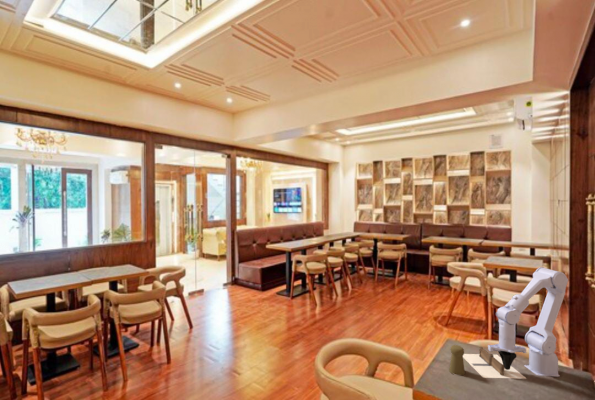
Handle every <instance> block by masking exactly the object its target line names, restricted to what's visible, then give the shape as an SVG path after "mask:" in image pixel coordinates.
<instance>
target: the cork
mask: <svg viewBox="0 0 595 400" xmlns="http://www.w3.org/2000/svg"><path fill="white" fill-rule="evenodd" d="M450 353H451V357H450V364H449V369H448V372H449V373H450V374H452V375H457V376H464V375H465V373H466V370H465V362H464V358H463V355H464V354H465V349H464V348H463V347H462V346H461V345H458V344H457V345H456V344H453V345H451V346H450Z"/></svg>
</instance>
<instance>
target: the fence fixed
mask: <svg viewBox="0 0 595 400" xmlns="http://www.w3.org/2000/svg"><path fill="white" fill-rule="evenodd" d="M478 352H479V353H478V354H479V356H480V357H482V358H483V359H484V360H485V361H486V362H487V363H488V364H489V365H490V366H492V357H493V355H494V354H492V353H489V352H488V351H486V350H485V348H483V347H482V346H480V347H479V351H478Z"/></svg>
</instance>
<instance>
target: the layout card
mask: <svg viewBox="0 0 595 400" xmlns="http://www.w3.org/2000/svg"><path fill="white" fill-rule="evenodd" d="M493 357H494V358H495V359H496V360H498V361H499V362H500V363H501V364H503V362H502V359H501V356H500V355H498V354H493ZM463 360H465V361H466V362H467V363H468V364H469V365H470V366H471V368H473V369H474V370H475V371H476V372H477V373H478V374H479V375H480V376H481V377H482V378H484V379H519V380H521V379H522V380H523V379H525V380H526V379H527V378H526V376H524V375H523V374H522V373H520V371H518V370H517V369H516V368H515V367H513V366H512V365H511V367H510V370H506V369H505V368H504V375H500V373H499V372H498V371H496V370H495V369H494V368H493V367H492V366H490V365H489V364H488V363H487V362H486V361H485V360H484V359H483V358H482V357H480V356H479V353H477V354H476V353H464V355H463Z"/></svg>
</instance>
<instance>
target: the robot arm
mask: <svg viewBox="0 0 595 400" xmlns="http://www.w3.org/2000/svg"><path fill="white" fill-rule="evenodd" d="M568 282H569V279H568V277H567V275H566V274H565V273H564V272H562V271H559V270H558V271H557V270H553V269H550V268H547V267H544V266H540V267H538V268H537V269H536V270H535V271H534V272H533V273H532V279H531V280H530V281H529V282H528V284H527V285H526V287H525V288H524V289H522V291H521V292H520V293H518V294H517V293H516V294H515V295H513V296H512V297H511V299H510V300H509V301H508V302H507V303H506V304H505V305H504V306H500V307H499V308H498V309H497V311H496V312H495V316H496V318H497V319H498V321H497V322H498V327H499V328H498V343H496V344H488V345H487V350H488V351H489V352H490V353H491V352H498V354H499V357H501V359H502V362H503V365H504V368H505V369H506V370H510V367H511V366H512V364H513V362H514V360H515V359H516V358H517V354H516V353H523V354H527V348H529V349H528V351H529V353H528V364H524V365H523V366H524V367H526V369H527V370H529V371H530V372H531V373H533V374H534V375H536V376H539V377H546V376H547V377H557V378H558V377H560V374H559V359H558V356H557V354H556V353H555V352H556V350H557V345H556V343H557V337H556V336H555V334H554V333H553V330H554V327H555V324H556V321H557V318H558V315H559V312H560V309H561V306H562V303H563V300H564V297H565V294H566V288H567V285H568ZM543 288H545V290H546V291H547V294H546V297H545V299H544V302H543V305H542V308H541V311H540V314H539V317H538V319H537V323H536V325H534V326H530V327H529V330H528V331H527V332H526V333H525V336H524V341H525V343H526V344H527V348H526V347H525V346H521V345H516V324H517V323H519V322H520V318H521V315H522V313H523V312H524V311H525V309H527V307H528V306H529V305H530V303H529V302H530V301H529V300H530V299H532V297H534V296H535V295H537V293H538V292H539V291H541V289H543Z"/></svg>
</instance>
